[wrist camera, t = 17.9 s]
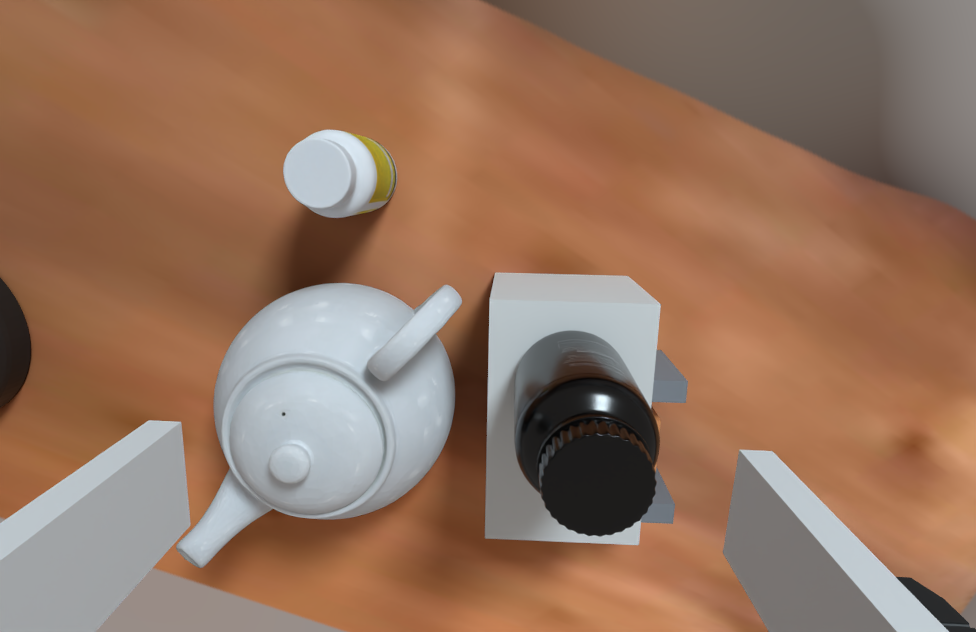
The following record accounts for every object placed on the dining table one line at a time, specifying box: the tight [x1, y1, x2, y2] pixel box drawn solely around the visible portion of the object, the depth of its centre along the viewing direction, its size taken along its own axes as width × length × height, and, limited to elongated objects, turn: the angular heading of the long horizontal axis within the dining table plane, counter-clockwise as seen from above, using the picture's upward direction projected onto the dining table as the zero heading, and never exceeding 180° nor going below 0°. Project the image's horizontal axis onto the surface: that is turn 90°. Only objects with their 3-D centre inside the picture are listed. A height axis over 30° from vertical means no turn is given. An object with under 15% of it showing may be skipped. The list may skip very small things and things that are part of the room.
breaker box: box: [485, 273, 688, 545], centre depth 40 cm, size 13×16×10 cm
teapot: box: [176, 283, 462, 568], centre depth 40 cm, size 19×18×14 cm
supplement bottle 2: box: [514, 330, 660, 537], centre depth 29 cm, size 7×7×12 cm
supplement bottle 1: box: [283, 130, 397, 218], centre depth 38 cm, size 5×5×10 cm
